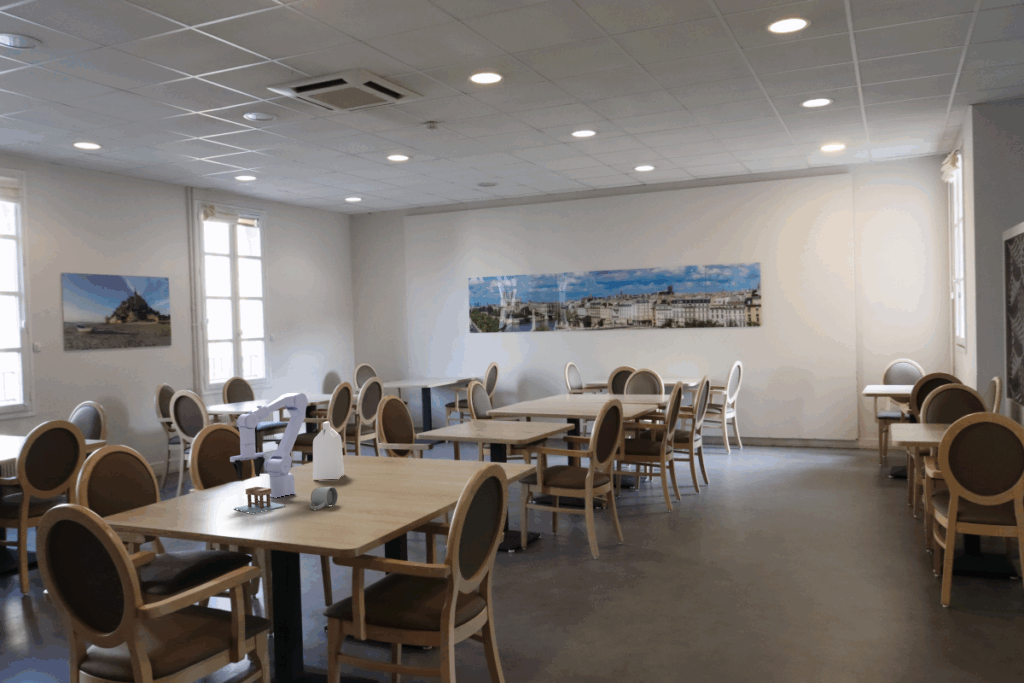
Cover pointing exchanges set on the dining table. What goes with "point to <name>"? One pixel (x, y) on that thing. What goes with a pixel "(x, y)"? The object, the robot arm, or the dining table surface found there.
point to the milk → (327, 454)
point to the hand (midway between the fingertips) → (248, 477)
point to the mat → (257, 507)
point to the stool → (259, 492)
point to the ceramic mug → (323, 497)
